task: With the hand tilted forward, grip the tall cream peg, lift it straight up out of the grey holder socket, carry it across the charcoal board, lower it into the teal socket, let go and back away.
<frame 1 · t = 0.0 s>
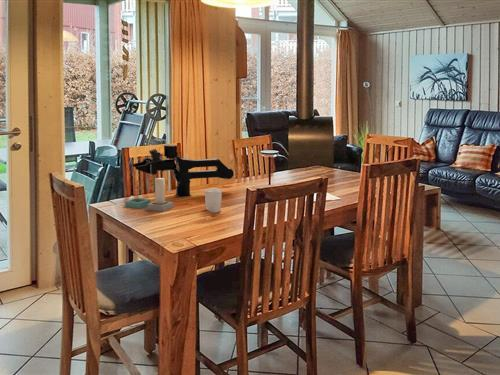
hand: (133, 166, 263), 17 cm above the table, tool horizontal, fingers open, 9 cm apart
socket board: (149, 208, 245), on the table
white cup: (213, 211, 242), on the table
peg: (160, 208, 242), point 1 cm above the table, touching socket board
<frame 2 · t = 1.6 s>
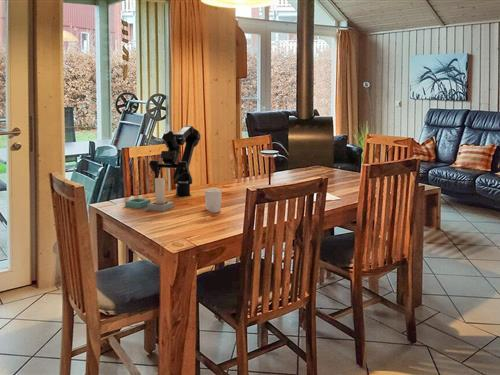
hand: (164, 180, 247), 13 cm above the table, tool tilted 45°, fingers open, 9 cm apart
nothing on the table moved.
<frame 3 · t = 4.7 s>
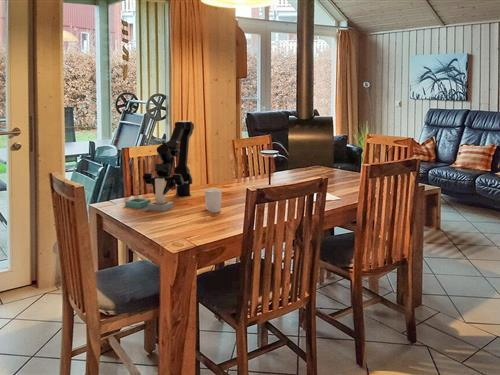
hand: (159, 194, 240), 8 cm above the table, tool tilted 45°, fingers closed on peg, 4 cm apart
peg: (160, 208, 242), point 1 cm above the table, touching gripper, socket board
everything else where it was.
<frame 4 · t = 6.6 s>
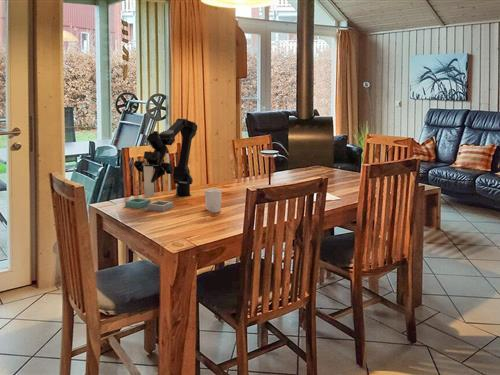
hand: (147, 181, 240), 13 cm above the table, tool tilted 45°, fingers closed on peg, 4 cm apart
peg: (149, 196, 243), point 6 cm above the table, touching gripper
everything else where it was.
when the fingers open (9 cm above the table, at t = 8.8 s): peg drops 1 cm, resting on socket board.
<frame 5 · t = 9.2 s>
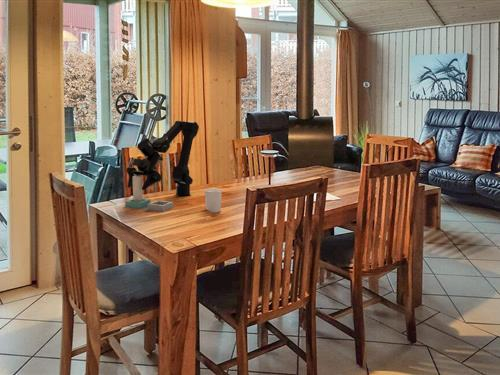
hand: (135, 188, 245), 10 cm above the table, tool tilted 45°, fingers open, 9 cm apart
peg: (138, 205, 248), point 1 cm above the table, touching socket board
everything else where it was.
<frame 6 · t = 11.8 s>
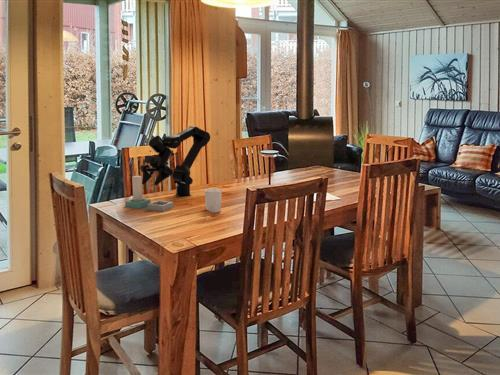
hand: (148, 184, 253), 10 cm above the table, tool tilted 40°, fingers open, 9 cm apart
nothing on the table moved.
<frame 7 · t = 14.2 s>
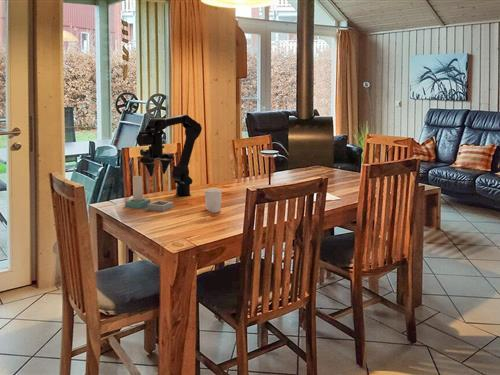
hand: (157, 175, 260), 13 cm above the table, tool pointing down, fingers open, 9 cm apart
nothing on the table moved.
at the end: peg 0.1 cm from the target spot, point 1.0 cm above the table; peg tilted 1°; the gripper is holding nothing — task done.
